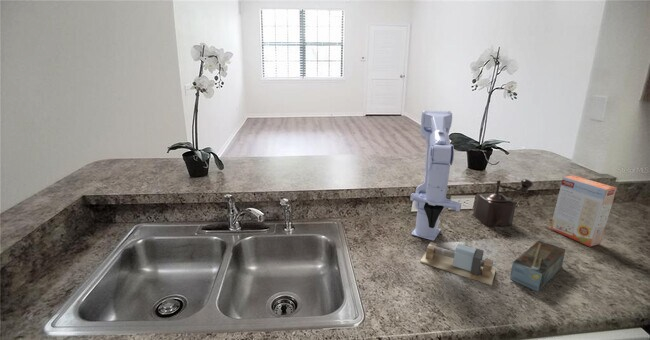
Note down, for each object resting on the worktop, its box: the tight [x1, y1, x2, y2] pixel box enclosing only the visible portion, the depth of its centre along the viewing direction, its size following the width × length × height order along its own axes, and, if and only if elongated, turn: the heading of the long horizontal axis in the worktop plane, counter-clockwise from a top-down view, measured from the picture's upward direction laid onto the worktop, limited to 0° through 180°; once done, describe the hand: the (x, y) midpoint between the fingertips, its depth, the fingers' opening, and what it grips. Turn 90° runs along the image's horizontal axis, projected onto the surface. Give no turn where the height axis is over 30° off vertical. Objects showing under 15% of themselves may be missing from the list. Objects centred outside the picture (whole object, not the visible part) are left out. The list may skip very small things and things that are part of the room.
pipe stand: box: [419, 241, 496, 286], centre depth 100 cm, size 20×8×4 cm, turn 58°
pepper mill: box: [472, 178, 534, 228], centre depth 128 cm, size 16×11×18 cm
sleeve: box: [453, 243, 477, 271], centre depth 98 cm, size 5×5×6 cm
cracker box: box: [550, 175, 617, 247], centre depth 116 cm, size 14×6×21 cm, turn 22°
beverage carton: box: [510, 240, 566, 292], centre depth 97 cm, size 8×19×7 cm, turn 130°
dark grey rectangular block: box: [470, 248, 485, 276], centre depth 97 cm, size 2×5×5 cm, turn 147°
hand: (431, 226), depth 102 cm, fingers closed
